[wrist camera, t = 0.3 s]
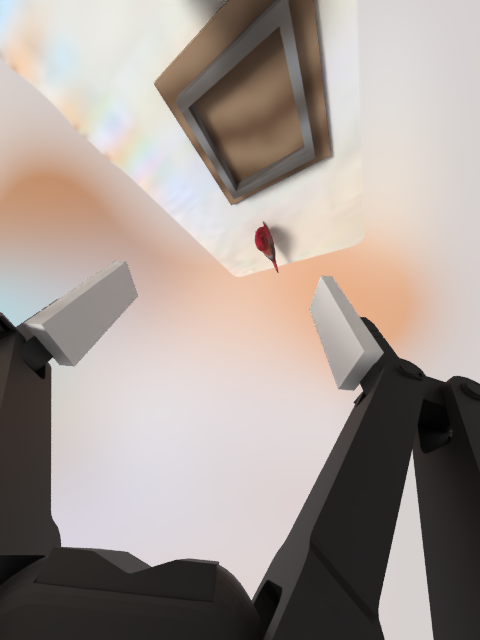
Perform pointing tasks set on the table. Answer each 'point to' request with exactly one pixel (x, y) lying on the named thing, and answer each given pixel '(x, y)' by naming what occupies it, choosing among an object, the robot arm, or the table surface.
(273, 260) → the decorative bird figurine
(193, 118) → the brown square wooden tray
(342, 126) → the table surface
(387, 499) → the robot arm
